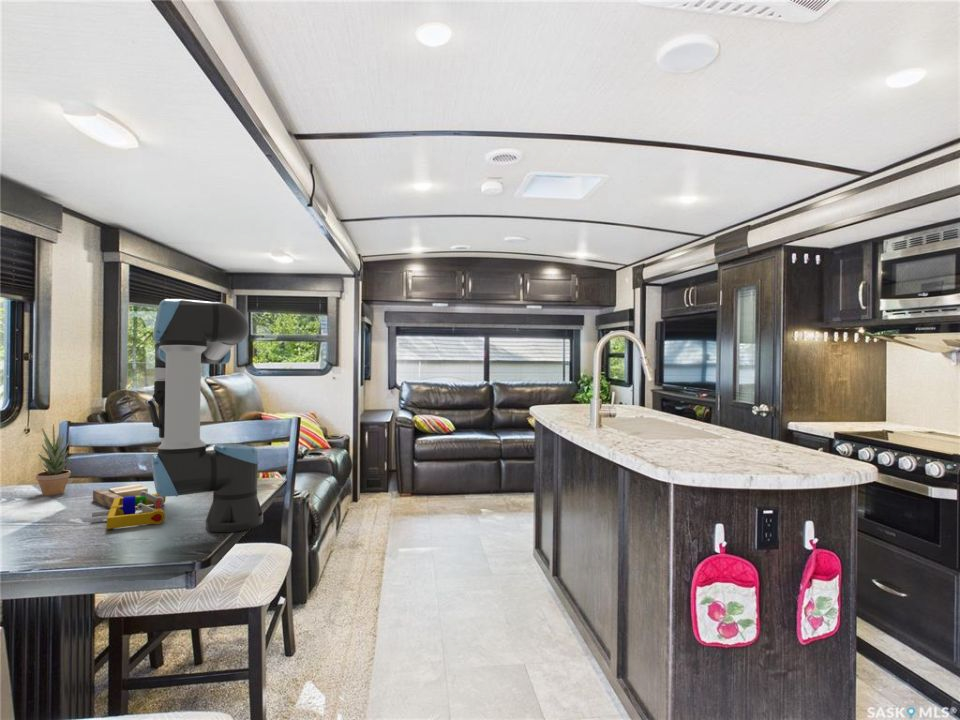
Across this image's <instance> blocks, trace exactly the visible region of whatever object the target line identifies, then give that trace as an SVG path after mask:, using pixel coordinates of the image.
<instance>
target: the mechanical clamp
mask: <svg viewBox="0 0 960 720" xmlns="http://www.w3.org/2000/svg"><path fill="white" fill-rule="evenodd" d="M166 498H167V497H162V496H159V495H158V494H157V492H156V493H152V494H151V493H149V492H148V493H147V492H145V491H141V492H140V496H129V497H120V498H115V499H114V501H113V504H112V506H111V508H109V509H108V510H107V509H106V510H99V511H92V512H91V518H97V517H104V516H105V517H107V518H106V530H110V529H117V528H118V529H119V528H127V527H137V526H143V525H159V524H162V523H163V522H164V521H165V518H166V512H165V511H164V509H163V508H162V506H163V505H165V502H166ZM150 505H151V506H152V505H153V506H154V507H155V508H153V507H151V506H150ZM137 510H139V511H142V512H138V513H137Z"/></svg>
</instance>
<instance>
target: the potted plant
mask: <svg viewBox="0 0 960 720" xmlns="http://www.w3.org/2000/svg"><path fill="white" fill-rule="evenodd" d="M41 430H42V433H43V436H44V438H43V440H44V444H45V446H44V444H41V447H42V449H43V451H44V452H45V453H46V455H47V457H48V458H47V457H43V456H42V455H41V454H39V453H38V456H39V457H40V459H41V460H42V461H44V463H42V465H43V466H44V468H43V470H44V471H42V472H39V473H36V474H35V480H36V481H37V482H38V485H39V487H40V491H41V493H42V495H43V494H44V495H43V496H55V495H54V494H57V495H61V494H63V493H65V491H66V487H67V484H68V479H69V477H70V476H71V473H72V472H71V470H68V469H65V467H66V466H67V465H68V464H69V463H70V462H71V461H72V460H73V458H71V457H70V456H68V457H67V458H66V456H67V455H68V453H69V451H70V450H67V451H66V449H67V447H68V446H69V442H67V443H66V445H65V446H64V448H63V447H62V446H63V443H64V439H65V434H63V435H62V437H61V439H60V438H59V437H57V438H56V435H55V432H56V431H55V425H54V423H52V442H51V441H50V439H49V437H48V435H47V433H46V431H45V430H44V428H43V427H42V429H41ZM62 448H63V449H62ZM65 458H66V459H65ZM64 459H65V460H64ZM45 468H46V469H45ZM60 493H61V494H60Z"/></svg>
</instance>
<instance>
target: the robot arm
mask: <svg viewBox="0 0 960 720" xmlns="http://www.w3.org/2000/svg"><path fill="white" fill-rule="evenodd" d="M248 333H249V322H248V320H247V318H246V316H245V315H244V314H243V313H242V312H241V311H240V310H238V309H237V308H236V307H234V306H233V305H230V304H227V303H225V302H219V301H205V300H196V299H186V298H170V299H169V298H165V299H163V300H161V301H160V302H159V305H158V308H157V312H156V317H155V321H154V328H153V336H152V337H153V340H154V341H155V342H154V343H155V344H154V380H155V381H154V382H153V383H154V384H153V392H154V393H153V395H152V397H151V398H150V399H148V400H146V401H145V404H146V406H147V407H148V411H149V416H150V418H151V422H152V427H153V428H157V429H158V437H159V439H161V444H159V445H158V447H157V453H154V454H152V455H151V456H150V460H151V472H152V477H153V482H154V483H153V484H154V488H155V489H154V490H155V491H156V493H157V494H158V495H159V496H162V497H166V498H167V497H179V496H185V495H193V494H194V495H195V494H202V493H203V494H204V493H211V492H213V494H212V497H213V498H212V502H211V505H210V508H209V510H208V512H207V513H208V514H207V516H206V519H205V529H206V531H210V532H212V533H236V532H242V531H243V532H244V531H246V530H251V529H255V528H257V527H259V526H261V525H263V523H264V513H263V511H262V507H261V504H260V501H259V497H258V475H259V473H258V468H259V457H258V456H259V455H258V450H257V448H255V447H253V446H251V445H245V444H238V443H217V444H214V446H213V449H210V450H209V449H207V444H206V443H205V442H204V441H203V439H201V390H202V389H201V388H202V387H201V386H202V385H201V381H202V379H201V378H202V377H201V376H202V374H201V373H202V371H201V370H202V367H201V366H202V365H203V364H205V365H208V364H209V365H225V364H229V363H230V360H231V357H232V355H231V354H232V353H231V351H232V348H233V347H234V346H235V345H238V344H240V343H242V342H243V341H244V340H245V338H246V337H247V335H248ZM155 404H156V405H158V406H157V407H156V405H155ZM157 409H158V412H157Z"/></svg>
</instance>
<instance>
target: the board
mask: <svg viewBox="0 0 960 720" xmlns="http://www.w3.org/2000/svg"><path fill="white" fill-rule="evenodd" d="M120 497H122V496H119V495H116V494H114V493H111V492H109V490H108V491H107V490H105V489H103V488H98V489H93V491H92V501H93V502H95V503H97V504H100V505H102V506H105V507H108V508H109V509H111V506H112V504H113V501H114V499H115V498H120Z"/></svg>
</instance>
